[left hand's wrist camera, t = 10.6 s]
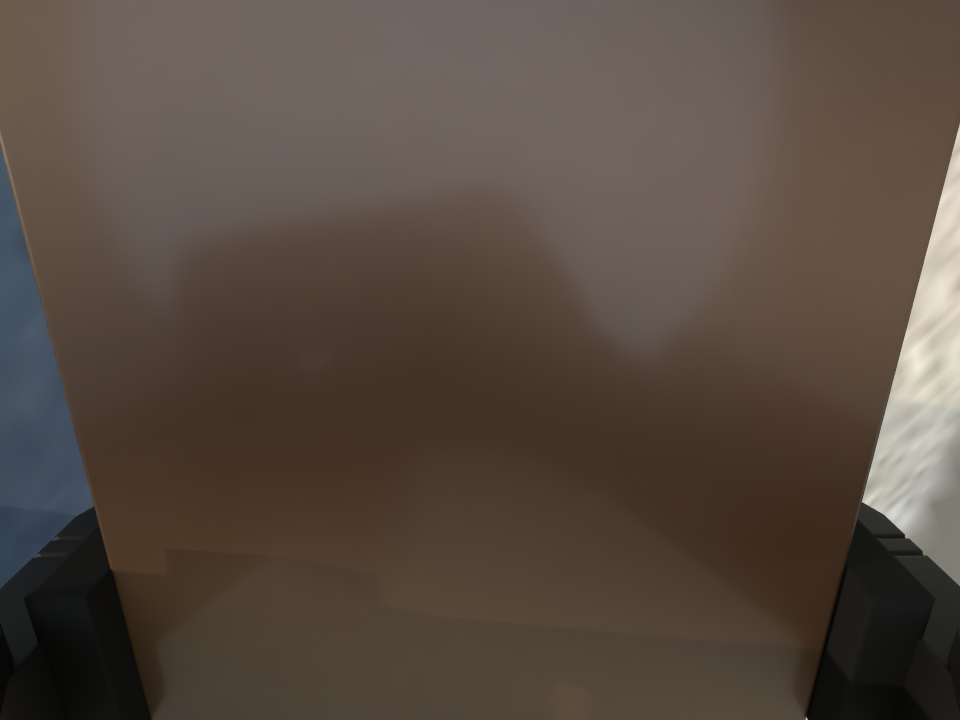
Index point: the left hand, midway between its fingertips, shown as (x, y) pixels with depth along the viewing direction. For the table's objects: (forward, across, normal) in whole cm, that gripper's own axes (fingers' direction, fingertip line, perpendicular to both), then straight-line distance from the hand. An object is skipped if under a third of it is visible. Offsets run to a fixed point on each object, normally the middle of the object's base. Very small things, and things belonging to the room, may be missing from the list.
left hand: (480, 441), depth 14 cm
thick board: (+1, 0, -31) cm, 31 cm away
